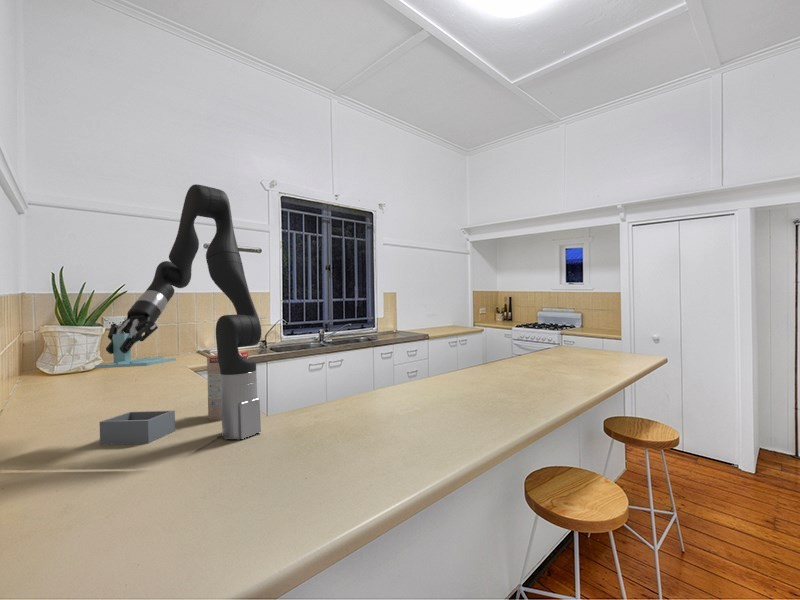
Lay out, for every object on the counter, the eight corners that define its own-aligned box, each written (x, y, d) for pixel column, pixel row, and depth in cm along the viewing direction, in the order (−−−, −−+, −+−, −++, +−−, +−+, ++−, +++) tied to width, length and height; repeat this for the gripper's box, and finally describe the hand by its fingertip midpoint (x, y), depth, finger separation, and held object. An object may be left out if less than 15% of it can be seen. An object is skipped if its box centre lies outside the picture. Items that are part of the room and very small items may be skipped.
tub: (175, 433, 107) (174, 410, 108) (148, 445, 98) (148, 420, 98) (130, 434, 109) (130, 411, 109) (100, 446, 99) (99, 421, 99)
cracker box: (224, 422, 117) (221, 355, 117) (207, 421, 118) (205, 355, 118) (251, 410, 130) (248, 350, 131) (235, 410, 131) (233, 351, 132)
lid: (175, 360, 109) (174, 330, 109) (146, 365, 98) (145, 332, 98) (128, 362, 110) (127, 333, 110) (94, 368, 99) (93, 335, 100)
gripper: (119, 300, 113) (83, 344, 101) (162, 297, 112) (131, 341, 99) (134, 317, 118) (101, 361, 106) (176, 315, 117) (147, 358, 104)
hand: (116, 351), depth 103 cm, fingers closed on lid, 3 cm apart
